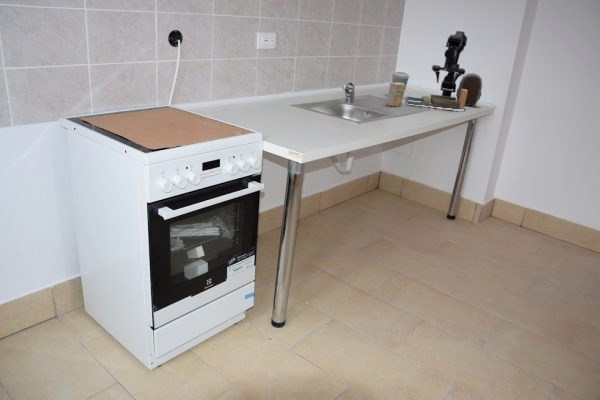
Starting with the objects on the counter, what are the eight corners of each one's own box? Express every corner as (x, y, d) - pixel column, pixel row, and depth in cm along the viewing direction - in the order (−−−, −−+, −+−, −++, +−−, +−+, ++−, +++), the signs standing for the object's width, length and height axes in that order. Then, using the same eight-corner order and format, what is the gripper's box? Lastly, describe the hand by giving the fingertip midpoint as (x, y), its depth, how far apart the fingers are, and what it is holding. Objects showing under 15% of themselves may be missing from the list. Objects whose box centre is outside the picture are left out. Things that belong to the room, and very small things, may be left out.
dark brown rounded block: (454, 104, 310) (461, 72, 302) (453, 101, 318) (460, 70, 310) (478, 108, 307) (486, 75, 299) (477, 105, 315) (485, 73, 307)
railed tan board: (429, 103, 305) (431, 94, 303) (453, 106, 304) (455, 97, 302) (432, 108, 291) (434, 99, 289) (458, 111, 291) (460, 102, 288)
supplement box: (392, 107, 283) (396, 84, 278) (386, 105, 287) (390, 82, 281) (401, 106, 288) (405, 83, 283) (395, 104, 292) (399, 82, 286)
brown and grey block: (455, 107, 302) (460, 87, 297) (460, 108, 302) (465, 88, 297) (459, 111, 293) (463, 91, 288) (464, 111, 293) (469, 91, 288)
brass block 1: (427, 102, 302) (420, 102, 302) (428, 96, 301) (422, 95, 301) (428, 104, 298) (421, 103, 299) (429, 97, 297) (422, 96, 297)
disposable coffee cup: (406, 99, 308) (411, 75, 302) (389, 97, 308) (393, 73, 302) (403, 96, 318) (408, 72, 312) (387, 94, 318) (391, 70, 312)
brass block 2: (428, 105, 297) (422, 104, 297) (430, 98, 295) (423, 97, 295) (429, 106, 293) (422, 105, 293) (431, 99, 292) (424, 98, 292)
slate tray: (405, 100, 305) (406, 96, 304) (431, 103, 304) (432, 99, 303) (407, 105, 292) (408, 101, 291) (434, 108, 292) (435, 104, 291)
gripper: (437, 57, 284) (431, 84, 290) (469, 61, 283) (463, 88, 289) (434, 55, 294) (428, 81, 300) (465, 58, 293) (459, 85, 300)
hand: (445, 84), depth 297 cm, fingers open, 9 cm apart
